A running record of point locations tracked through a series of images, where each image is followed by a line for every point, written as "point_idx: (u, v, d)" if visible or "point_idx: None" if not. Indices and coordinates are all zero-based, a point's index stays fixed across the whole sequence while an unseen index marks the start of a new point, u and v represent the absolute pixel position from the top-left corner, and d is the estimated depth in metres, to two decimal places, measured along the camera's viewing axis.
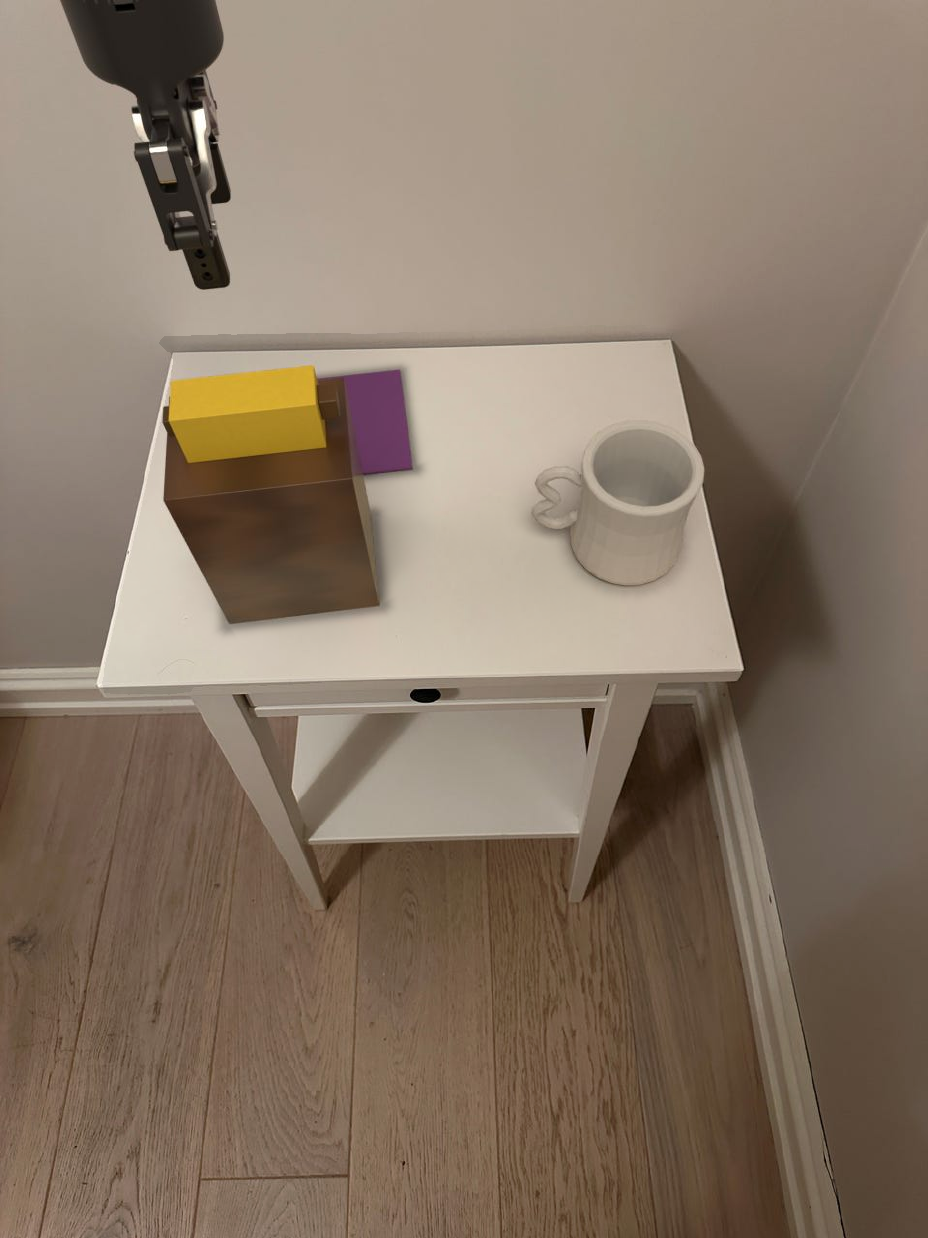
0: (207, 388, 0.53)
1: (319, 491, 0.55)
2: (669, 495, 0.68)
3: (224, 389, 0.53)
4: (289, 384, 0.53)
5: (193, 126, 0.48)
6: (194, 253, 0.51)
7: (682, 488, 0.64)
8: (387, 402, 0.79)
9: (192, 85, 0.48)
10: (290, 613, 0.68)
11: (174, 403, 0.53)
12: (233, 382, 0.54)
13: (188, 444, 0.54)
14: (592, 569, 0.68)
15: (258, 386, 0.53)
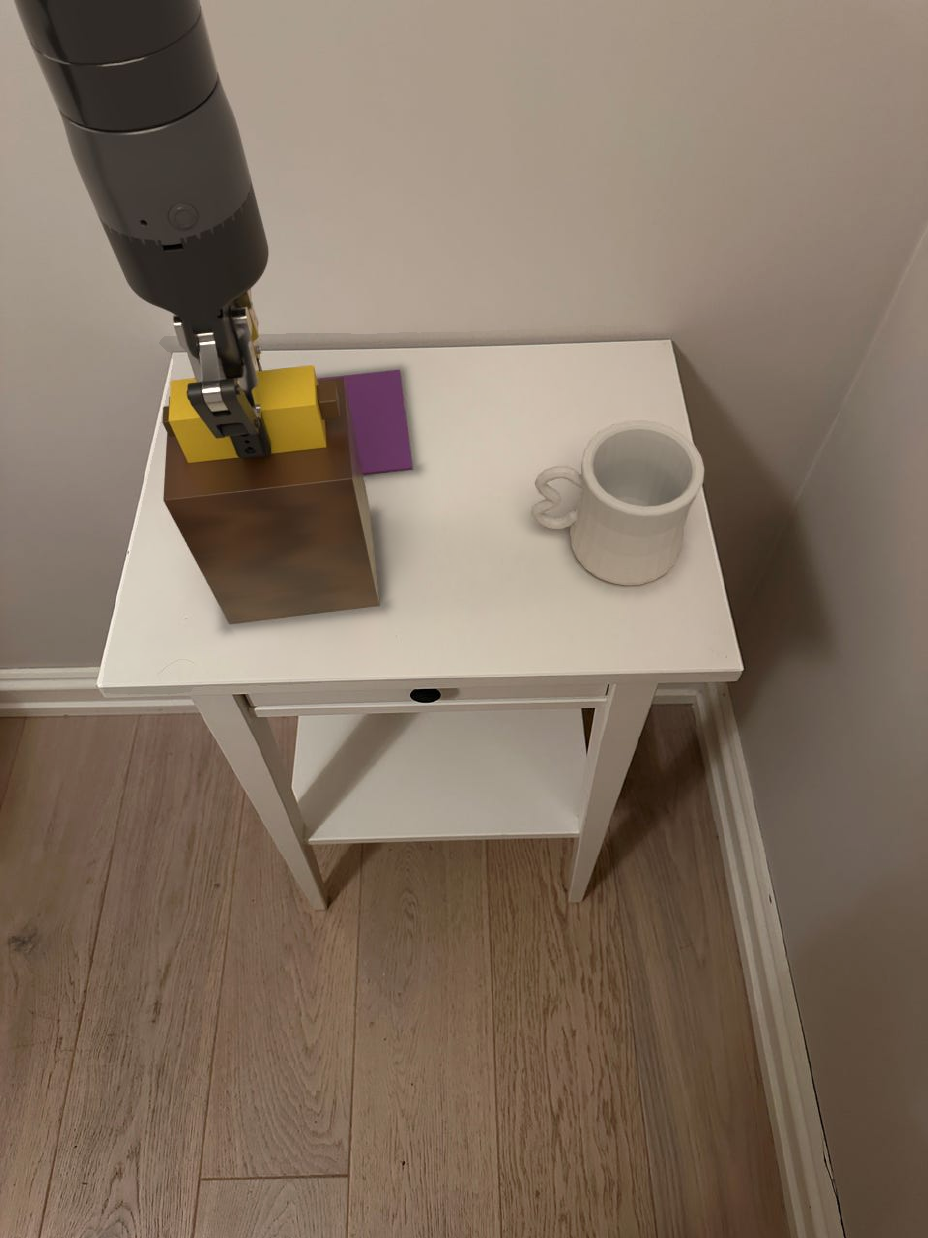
0: None
1: (319, 491, 0.55)
2: (669, 495, 0.68)
3: None
4: (289, 384, 0.53)
5: (237, 335, 0.47)
6: None
7: (682, 488, 0.64)
8: (387, 402, 0.79)
9: None
10: (290, 613, 0.68)
11: (174, 403, 0.53)
12: None
13: (188, 444, 0.54)
14: (592, 569, 0.68)
15: (258, 386, 0.53)
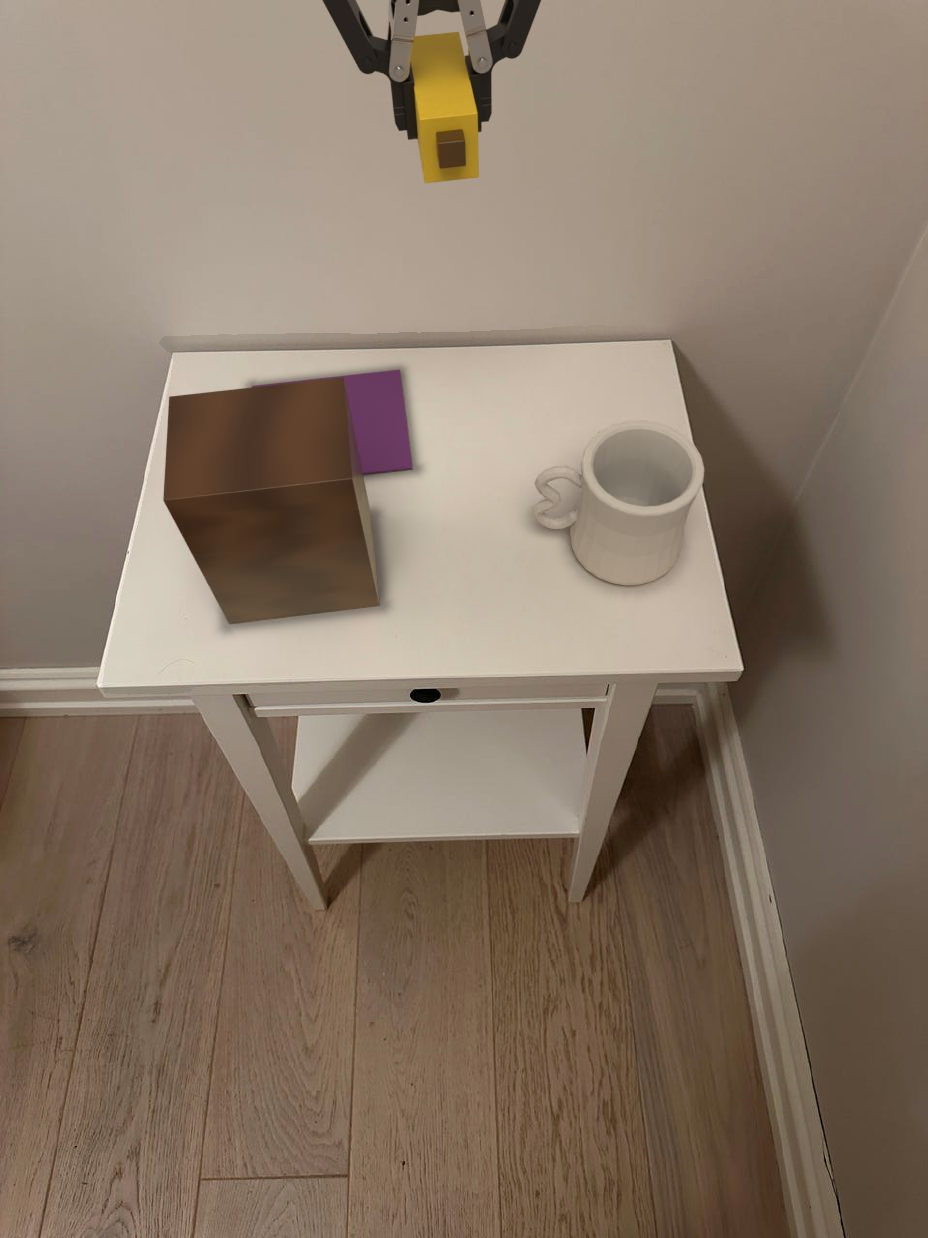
0: (446, 52, 0.53)
1: (319, 491, 0.55)
2: (669, 495, 0.68)
3: (444, 62, 0.52)
4: (449, 99, 0.50)
5: None
6: None
7: (682, 488, 0.64)
8: (387, 402, 0.79)
9: None
10: (290, 613, 0.68)
11: (427, 37, 0.54)
12: (453, 66, 0.52)
13: None
14: (592, 569, 0.68)
15: (447, 81, 0.51)
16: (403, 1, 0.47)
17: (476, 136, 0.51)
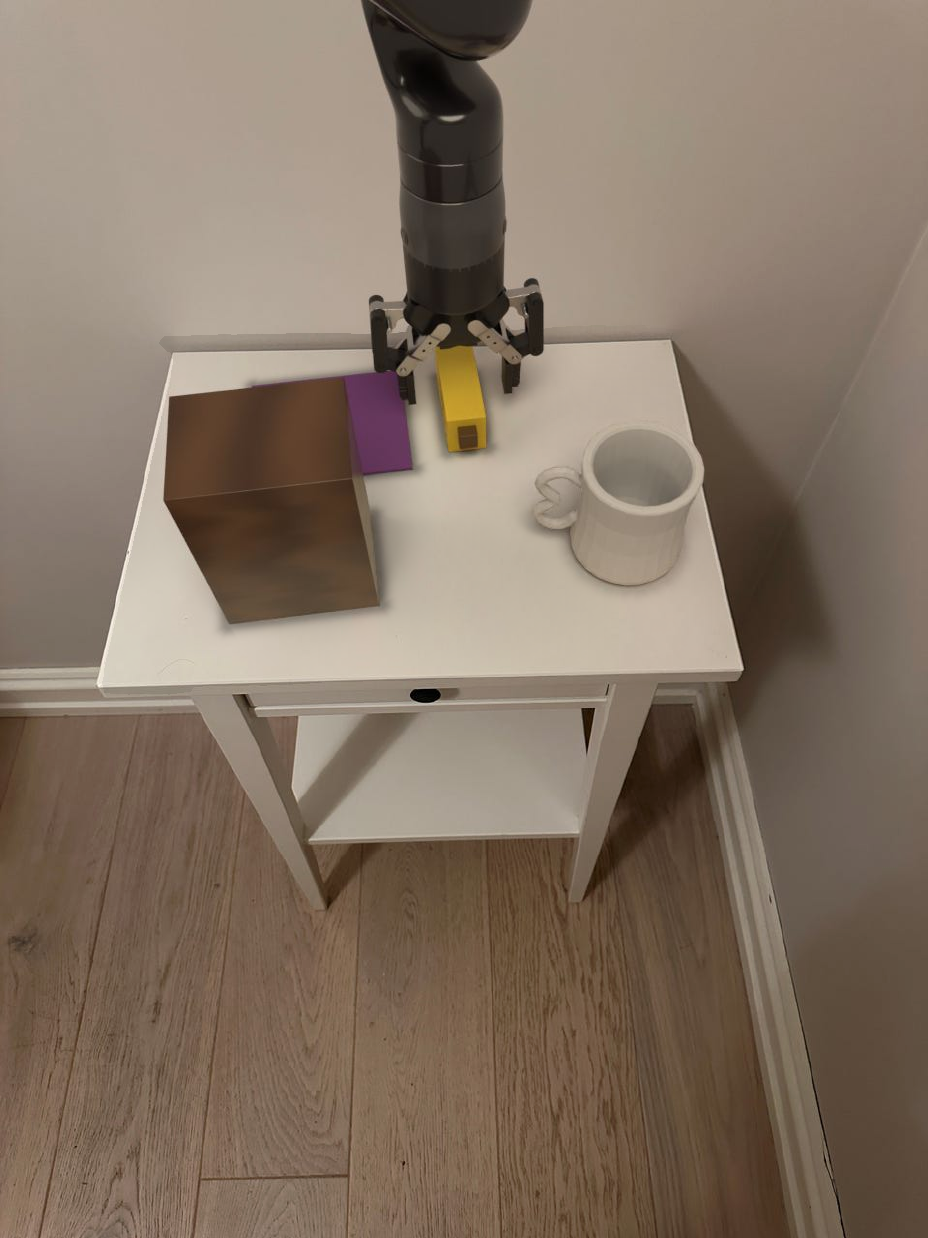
0: (463, 362, 0.76)
1: (319, 491, 0.55)
2: (669, 495, 0.68)
3: (462, 371, 0.76)
4: (466, 404, 0.74)
5: (432, 327, 0.68)
6: None
7: (682, 488, 0.64)
8: (387, 402, 0.79)
9: (467, 317, 0.68)
10: (290, 613, 0.68)
11: None
12: (469, 374, 0.75)
13: (436, 369, 0.79)
14: (592, 569, 0.68)
15: (464, 388, 0.75)
16: (436, 345, 0.69)
17: (485, 428, 0.74)
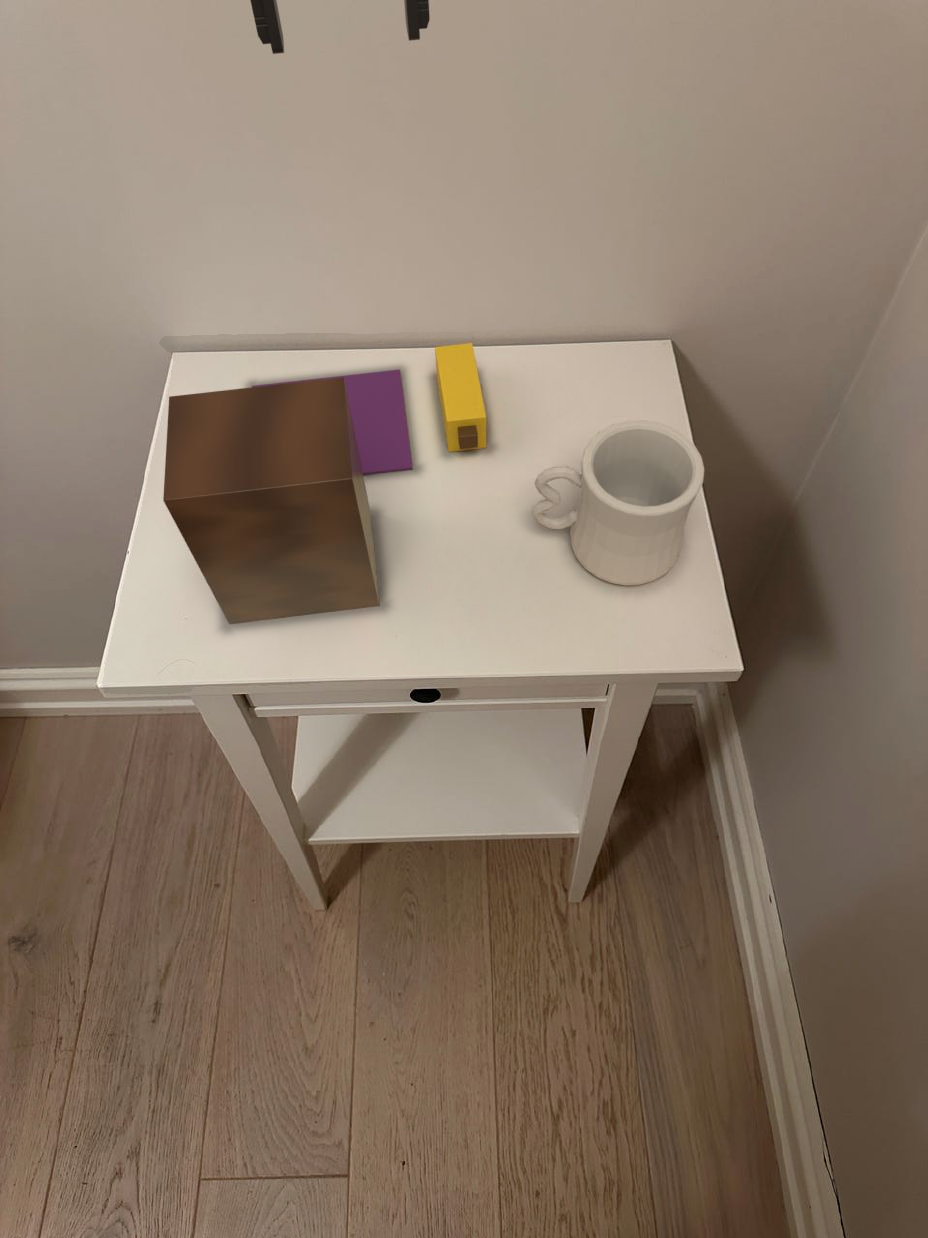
0: (463, 362, 0.76)
1: (319, 491, 0.55)
2: (669, 495, 0.68)
3: (462, 371, 0.76)
4: (466, 404, 0.74)
5: None
6: None
7: (682, 488, 0.64)
8: (387, 402, 0.79)
9: None
10: (290, 613, 0.68)
11: (450, 347, 0.77)
12: (469, 374, 0.75)
13: (436, 369, 0.79)
14: (592, 569, 0.68)
15: (464, 388, 0.75)
16: None
17: (485, 428, 0.74)
